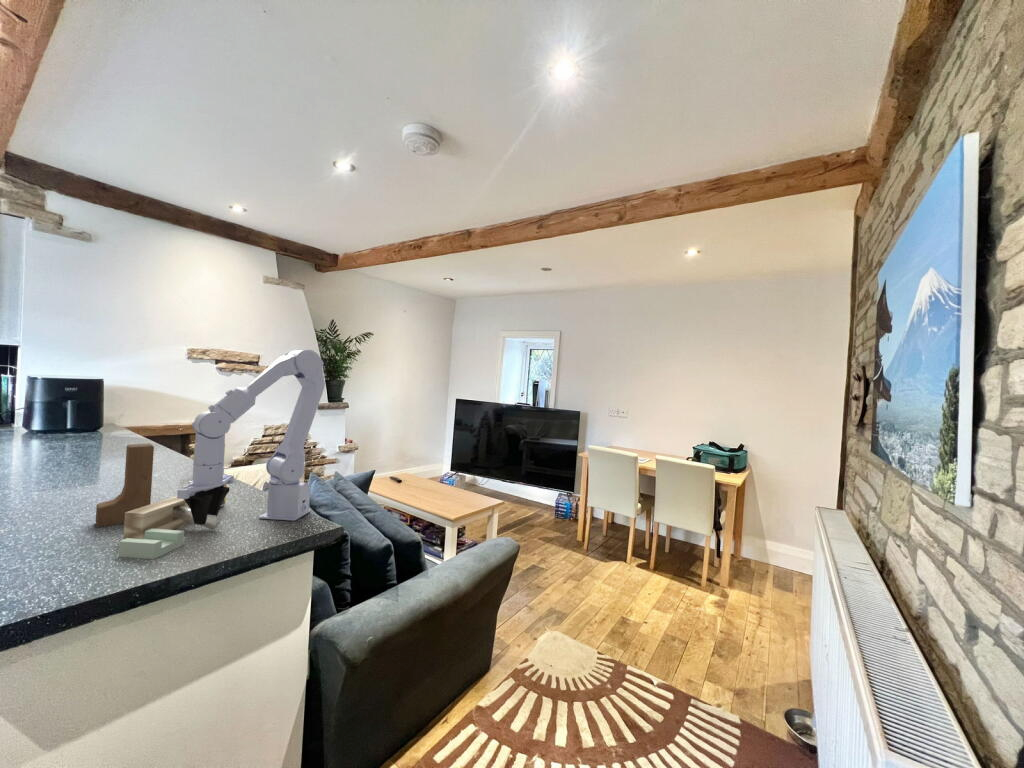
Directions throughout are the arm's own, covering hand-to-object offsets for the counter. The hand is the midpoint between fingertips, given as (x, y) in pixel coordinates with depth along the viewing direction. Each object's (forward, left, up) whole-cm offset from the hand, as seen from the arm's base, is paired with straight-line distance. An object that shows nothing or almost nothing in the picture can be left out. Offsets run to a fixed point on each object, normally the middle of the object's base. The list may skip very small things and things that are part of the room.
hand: (205, 521), depth 94 cm
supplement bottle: (+10, -16, -2) cm, 19 cm away
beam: (+8, 0, -2) cm, 9 cm away
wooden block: (+21, -2, -2) cm, 22 cm away
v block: (+1, +12, -2) cm, 12 cm away
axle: (+2, 0, +1) cm, 2 cm away
